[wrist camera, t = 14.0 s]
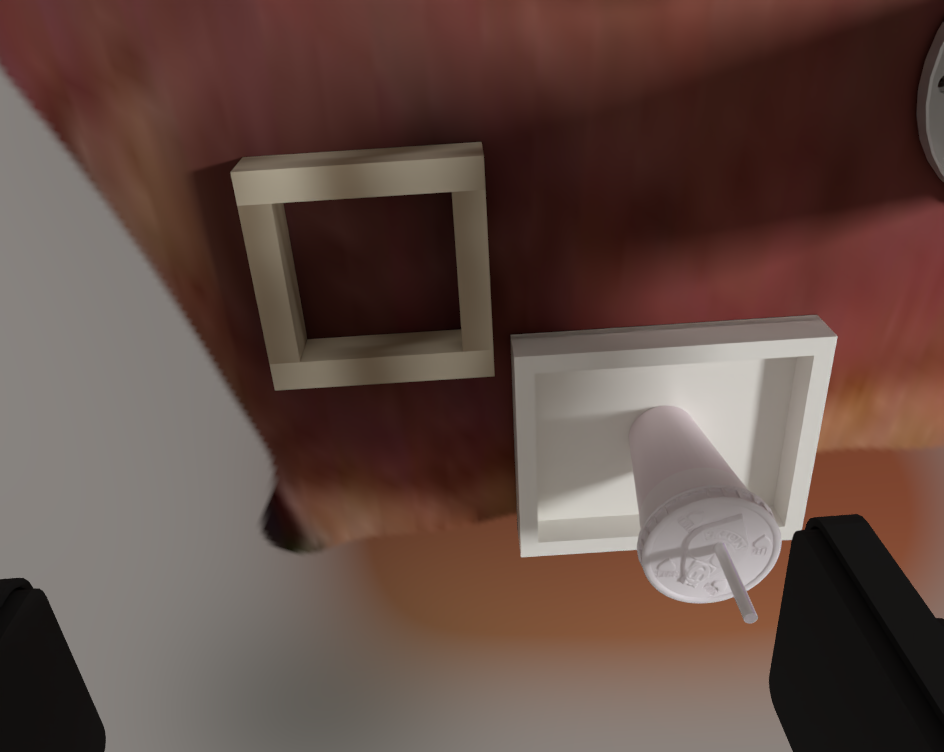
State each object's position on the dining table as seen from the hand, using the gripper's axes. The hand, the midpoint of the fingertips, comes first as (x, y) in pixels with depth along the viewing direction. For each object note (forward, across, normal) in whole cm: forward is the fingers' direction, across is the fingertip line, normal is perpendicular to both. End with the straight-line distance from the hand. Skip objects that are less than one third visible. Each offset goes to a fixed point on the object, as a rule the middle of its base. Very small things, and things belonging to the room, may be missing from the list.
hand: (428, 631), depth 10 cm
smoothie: (+30, -11, +18) cm, 36 cm away
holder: (+30, +4, +7) cm, 31 cm away
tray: (+30, -11, +18) cm, 37 cm away
